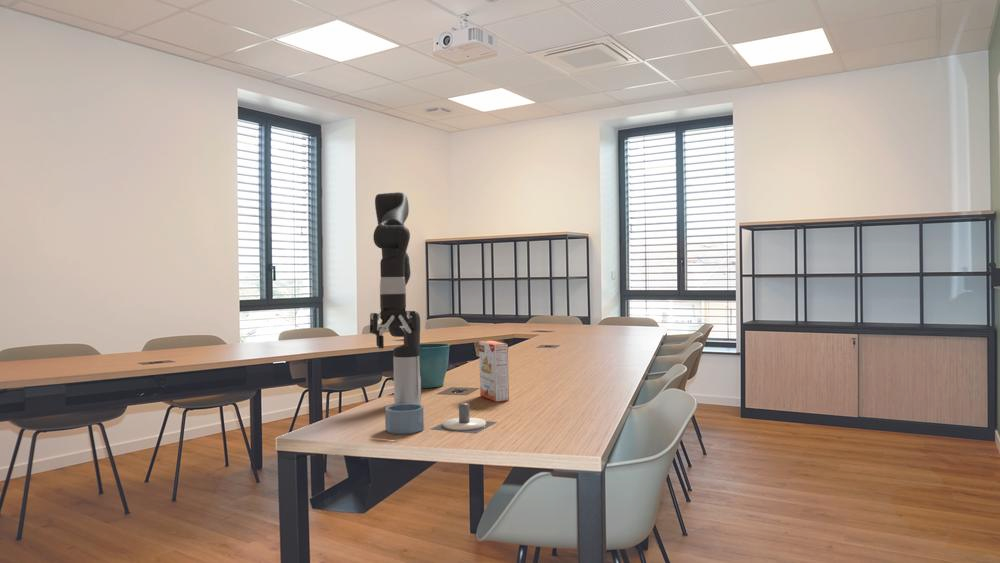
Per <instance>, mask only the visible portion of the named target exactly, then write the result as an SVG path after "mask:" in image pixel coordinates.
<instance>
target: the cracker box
mask: <svg viewBox="0 0 1000 563" xmlns="http://www.w3.org/2000/svg"><path fill="white" fill-rule="evenodd" d="M478 345H479V346H478V350H479V351H478V352H479V385H480V386H479V388H480V389H479V390H480V391H479V392H480V394H479V395H480V397H483V398H485V399H488V400H490V401H492V402H495V403H499V402H507V401H510V392H509V391H510V386H509V382H510V381H509V380H510V379H509V378H510V377H509V344H508V343H504V342H500V341H496V340H480V341H478Z"/></svg>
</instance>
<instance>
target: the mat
mask: <svg viewBox="0 0 1000 563" xmlns="http://www.w3.org/2000/svg"><path fill="white" fill-rule="evenodd" d="M485 421H486V426H485V427H483V428H481V429H476V430H467V431H456V430H449V429H445V428H443V423H440V424H439V425H436V426H434V427H432V428H430V430H433V431H443V432H444V431H445V432H454V433H455V432H457V433H466V434H468V433H469V434H478V433H480V432H482V431H484V430H486V429H487V428H489V427H492V426H494V424H497V423H498V421H488V420H485Z"/></svg>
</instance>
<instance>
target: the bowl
mask: <svg viewBox="0 0 1000 563" xmlns="http://www.w3.org/2000/svg"><path fill="white" fill-rule="evenodd" d="M384 410H385V411H384V412H385V416H384V420H385V431H386V432H387V433H388V434H392V435H412V434H417V433H420V432H422V431H423V430H424V429H425V426H424V425H425V424H424V421H425V420H424V419H425V418H424V416H425V414H424V413H425V412H424V405H422V404H397V405H394V404H393V405H388V406H385V409H384Z"/></svg>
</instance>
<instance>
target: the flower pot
mask: <svg viewBox="0 0 1000 563" xmlns="http://www.w3.org/2000/svg"><path fill="white" fill-rule="evenodd" d="M450 346H451V345H450V344H448V343H439V342H437V343H435V342H434V343H420V350H419V364H420V377H421V389H431V388H432V389H433V388H440V387H443V386H444V382H445V377H446V374H447V371H448V367H449V359H450V358H449V357H450Z"/></svg>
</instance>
